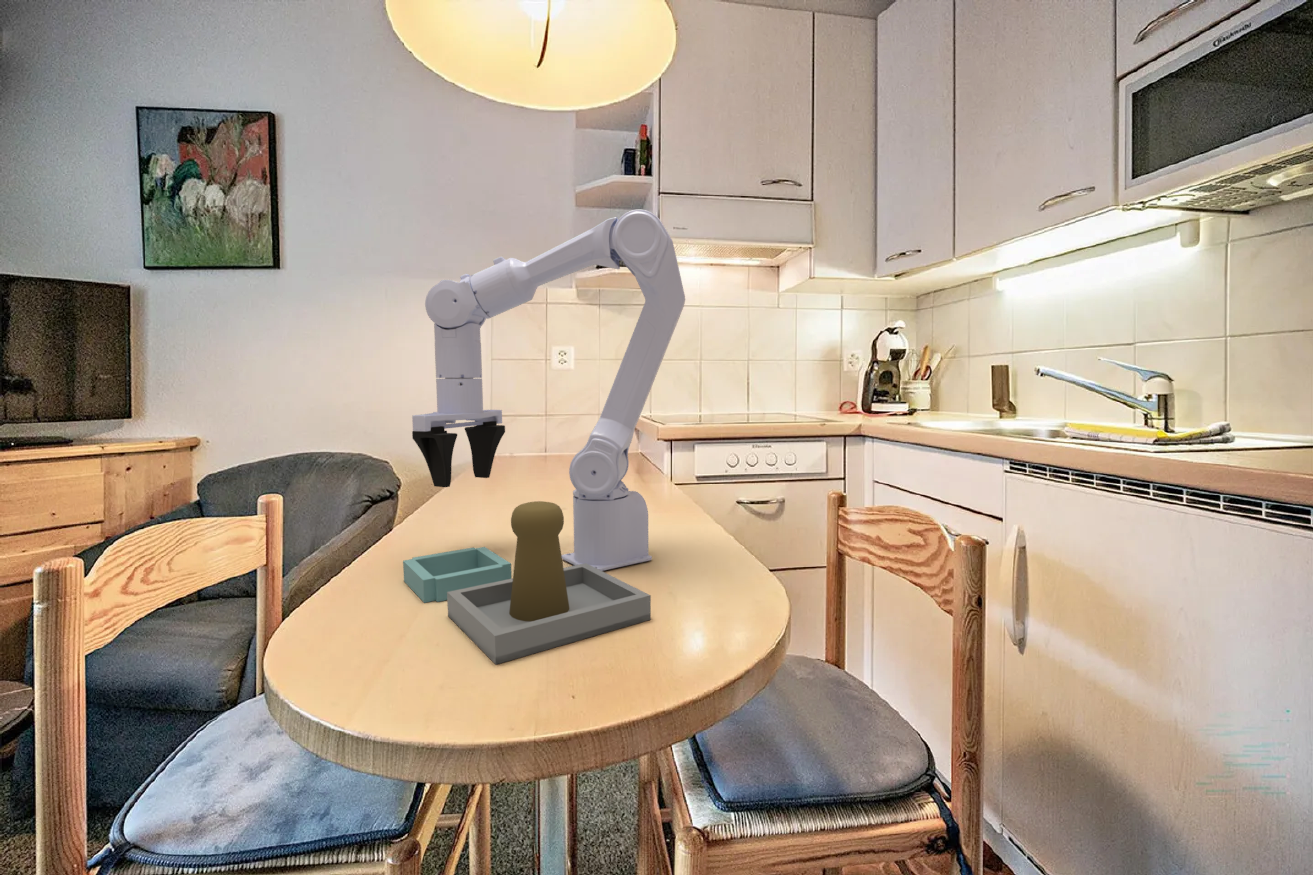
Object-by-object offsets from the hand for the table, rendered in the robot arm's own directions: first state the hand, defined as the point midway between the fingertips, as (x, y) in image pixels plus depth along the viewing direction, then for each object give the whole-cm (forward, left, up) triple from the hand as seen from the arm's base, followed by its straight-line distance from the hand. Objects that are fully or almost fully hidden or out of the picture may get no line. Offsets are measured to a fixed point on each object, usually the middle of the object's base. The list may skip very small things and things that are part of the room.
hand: (462, 481), depth 80 cm
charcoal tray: (0, +25, -10) cm, 27 cm away
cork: (0, +24, -10) cm, 26 cm away
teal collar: (+4, +9, -10) cm, 14 cm away
